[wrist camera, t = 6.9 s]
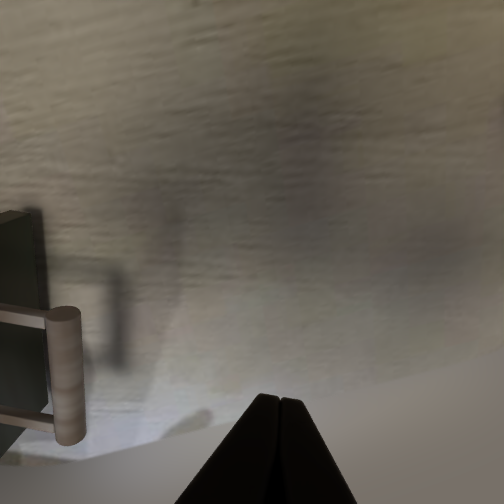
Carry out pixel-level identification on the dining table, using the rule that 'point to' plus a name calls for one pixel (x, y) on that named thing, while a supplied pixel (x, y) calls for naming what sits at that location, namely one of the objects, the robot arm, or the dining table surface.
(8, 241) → the drawer
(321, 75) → the dining table surface
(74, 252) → the dining table surface
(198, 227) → the dining table surface
